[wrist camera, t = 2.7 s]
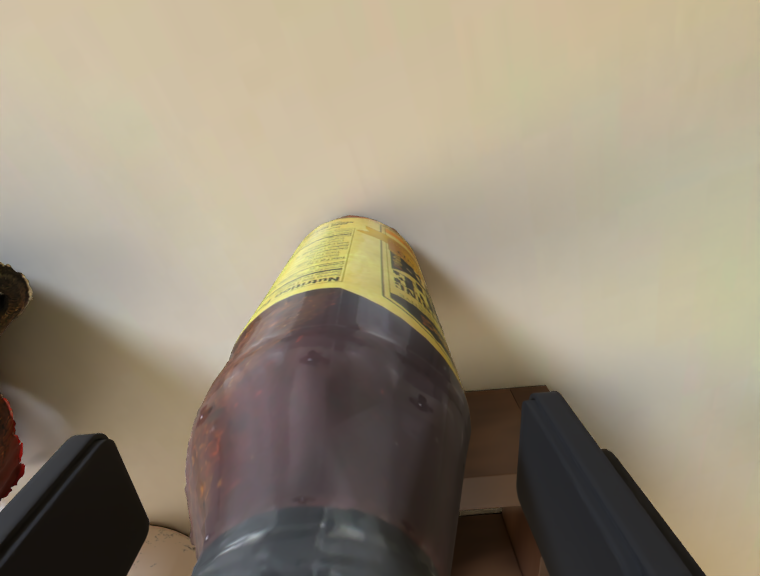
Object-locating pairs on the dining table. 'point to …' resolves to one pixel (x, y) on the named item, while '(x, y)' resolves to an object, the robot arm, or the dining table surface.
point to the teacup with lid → (164, 554)
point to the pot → (3, 445)
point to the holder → (495, 491)
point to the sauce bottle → (333, 422)
